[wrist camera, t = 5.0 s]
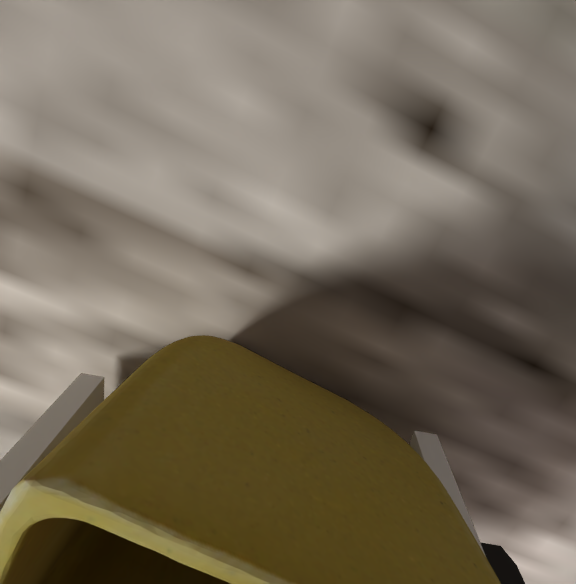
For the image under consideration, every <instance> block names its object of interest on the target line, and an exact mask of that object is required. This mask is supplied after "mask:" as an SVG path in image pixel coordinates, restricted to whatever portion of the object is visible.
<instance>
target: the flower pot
mask: <svg viewBox="0 0 576 584" xmlns="http://www.w3.org/2000/svg"><path fill="white" fill-rule="evenodd" d="M0 584H501V583H500V581H499V579H498V577H497V576H496V574H495V572H494V570H493V569H492V567H491V565H490V563H489V562H488V560H487V558H486V556H485V555H484V553H483V551H482V550H481V548H480V546H479V544H478V543H477V541H476V539H475V537H474V536H473V534H472V532H471V531H470V529H469V527H468V526H467V524H466V522H465V520H464V519H463V517H462V515H461V513H460V512H459V510H458V508H457V507H456V505H455V503H454V502H453V500H452V499H451V497H450V495H449V494H448V492H447V490H446V489H445V487H444V486H443V484H442V483H441V481H440V480H439V478H438V477H437V476H436V475H435V473H434V472H433V471H432V470H431V468H430V467H429V466H428V464H427V463H426V462H425V461H424V460H423V459H422V458H421V456H420V455H419V454H418V453H417V452H416V451H415V450H414V449H413V448H412V447H411V446H410V445H409V444H408V443H407V442H406V441H404V440H403V439H402V438H401V437H400V436H399V435H397V434H396V433H395V432H394V431H393V430H392V429H390V428H389V427H388V426H386V425H385V424H383V423H382V422H381V421H379V420H378V419H376V418H375V417H374V416H372V415H371V414H369V413H367V412H366V411H364V410H362V409H361V408H359V407H357V406H356V405H354V404H353V403H351V402H349V401H347V400H346V399H344V398H341V397H340V396H338V395H336V394H334V393H332V392H330V391H328V390H326V389H324V388H322V387H320V386H318V385H316V384H314V383H312V382H310V381H308V380H306V379H304V378H302V377H300V376H298V375H296V374H294V373H292V372H290V371H288V370H287V369H285V368H283V367H281V366H279V365H277V364H275V363H273V362H271V361H269V360H267V359H266V358H264V357H262V356H260V355H258V354H256V353H254V352H252V351H250V350H248V349H246V348H244V347H242V346H240V345H238V344H235V343H233V342H230V341H227V340H224V339H221V338H217V337H213V336H191V337H187V338H184V339H181V340H178V341H176V342H173V343H171V344H169V345H168V346H166V347H164V348H162V349H161V350H159V351H158V352H157V353H155V354H154V355H153V356H151V357H150V358H149V359H148V360H146V361H145V362H144V363H143V364H142V365H141V366H140V367H139V368H138V369H137V370H136V371H135V372H134V373H132V374H131V375H130V376H129V377H128V378H127V379H126V380H125V381H124V382H123V383H122V384H121V385H120V386H119V387H118V388H117V389H116V390H115V391H114V392H113V393H111V394H110V395H109V396H108V397H107V398H106V399H105V400H104V401H103V402H102V403H101V404H99V405H98V406H97V407H96V408H95V409H94V410H93V411H92V412H91V413H90V414H89V415H88V416H87V417H86V418H85V419H84V420H83V421H82V422H81V423H79V424H78V425H77V426H76V427H75V428H74V429H73V430H72V431H71V432H70V433H69V434H68V435H67V436H66V437H65V438H64V439H63V440H62V441H61V442H60V443H59V444H58V445H57V446H56V447H55V448H54V449H53V450H52V451H51V452H50V453H49V454H48V455H47V456H46V457H45V458H44V459H43V460H42V461H41V462H40V463H39V464H38V465H37V466H35V467H34V468H33V469H32V470H31V471H30V472H29V473H28V474H27V475H26V476H25V477H24V478H23V479H22V480H21V481H20V482H19V483H18V484H17V485H16V486H15V487H14V488H13V489H12V490H11V492H10V494H9V496H8V498H7V500H6V502H5V504H4V506H3V508H2V510H1V511H0Z"/></svg>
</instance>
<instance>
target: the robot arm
mask: <svg viewBox="0 0 576 584" xmlns="http://www.w3.org/2000/svg"><path fill="white" fill-rule="evenodd" d="M103 401H104V377H101V376H95V375H89V374H83V373H81V374H80V375H79V376H78V377H77V378H76V379H75V380H74V382H73V383H72V384H71V385H70V386H69V387H68V388H67V389H66V390H65V391H64V392H63V393H62V395H61V396H60V397H59V398H58V399H57V400H56V401H55V402H54V403H53V404H52V405H51V406H50V407H49V409H48V410H47V411H46V412H45V413H44V414H43V415H42V416H41V417H40V418H39V419H38V420H37V422H36V423H35V424H34V425H33V426H32V427H31V428H30V429H29V430H28V431H27V432H26V433H25V435H24V436H23V437H22V438H21V439H20V440H19V441H18V442H17V443H16V444H15V445H14V446H13V447H12V449H11V450H10V451H9V452H8V453H7V454H6V455H5V456H4V457H3V458H2V459H1V460H0V511H1V510H2V508H3V506H4V504H5V502H6V500H7V498H8V496H9V494H10V492H11V490H12V489H13V488H14V487H15V486H16V485H17V484H18V483H19V482H20V481H21V480H22V479H23V478H24V477H25V476H26V475H27V474H28V473H29V472H30V471H31V470H32V469H33V468H34V467H35V466H37V465H38V464H39V463H40V462H41V461H42V460H43V459H44V458H45V457H46V456H47V455H48V454H49V453H50V452H51V451H52V450H53V449H54V448H55V447H56V446H57V445H58V444H59V443H60V442H61V441H62V440H63V439H64V438H65V437H66V436H67V435H68V434H69V433H70V432H71V431H72V430H73V429H74V428H75V427H76V426H77V425H78V424H79V423H81V422H82V421H83V420H84V419H85V418H86V417H87V416H88V415H89V414H90V413H91V412H92V411H93V410H94V409H95V408H96V407H97V406H98V405H99V404H101V403H102V402H103ZM410 446H411V447H412V448H413V449H414V450H415V451H416V452H417V453H418V454H419V455H420V456H421V458H422V459H423V460H424V461H425V462H426V463H427V464H428V466H429V467H430V468H431V470H432V471H433V472H434V473H435V475H436V476H437V477H438V478H439V480H440V481H441V483H442V484H443V486H444V487H445V489H446V490H447V492H448V494H449V495H450V497H451V499H452V500H453V502H454V503H455V505H456V507H457V508H458V510H459V512H460V513H461V515H462V517H463V519H464V520H465V522H466V524H467V526H468V527H469V529H470V531H471V532H472V534H473V536H474V537H475V539H476V541H477V543H478V544H479V546H480V548H481V550H482V551H483V553H484V555H485V556H486V558H487V560H488V562H489V563H490V565H491V567H492V569H493V570H494V572H495V574H496V576H497V577H498V579H499V581H500V583H501V584H525V582H524V580H523V578H522V576H521V574H520V572H519V569H518V567H517V565H516V564H515V563H514V562H513V560H512V559H511V558H510V557H509V556H508V554H507V553H506V552H505V551H504V549H503V548H502V547H501V546H498V545H492V544H486V543H480V541H479V538H478V536H477V533H476V531H475V528H474V526H473V523H472V521H471V518H470V516H469V513H468V511H467V508H466V506H465V503H464V501H463V498H462V496H461V493H460V491H459V488H458V486H457V483H456V481H455V478H454V476H453V473H452V471H451V468H450V466H449V463H448V461H447V458H446V456H445V453H444V451H443V448H442V446H441V443H440V441H439V438H438V436H437V434H432V433H426V432H420V431H414V433H413V436H412V439H411V442H410Z"/></svg>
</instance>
